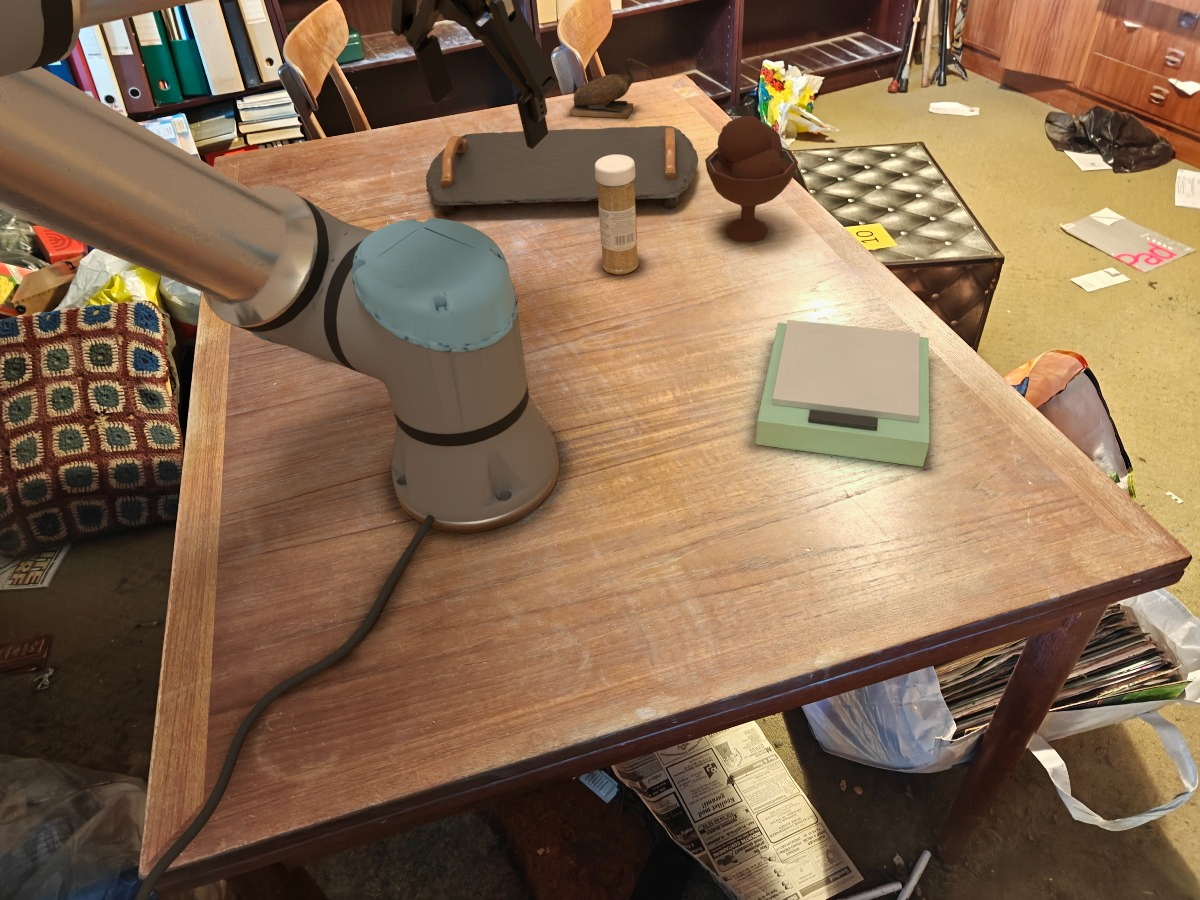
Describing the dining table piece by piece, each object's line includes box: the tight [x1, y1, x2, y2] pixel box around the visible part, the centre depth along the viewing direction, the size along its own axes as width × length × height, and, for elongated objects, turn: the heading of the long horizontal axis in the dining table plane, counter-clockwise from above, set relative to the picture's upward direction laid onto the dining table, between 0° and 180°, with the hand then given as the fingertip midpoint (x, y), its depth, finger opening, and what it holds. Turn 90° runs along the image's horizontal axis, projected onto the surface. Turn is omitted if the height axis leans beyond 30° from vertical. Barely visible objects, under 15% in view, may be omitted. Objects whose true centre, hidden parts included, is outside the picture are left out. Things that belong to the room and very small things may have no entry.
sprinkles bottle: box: [595, 155, 639, 275], centre depth 101 cm, size 5×5×13 cm
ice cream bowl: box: [704, 115, 799, 243], centre depth 104 cm, size 11×11×15 cm
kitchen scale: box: [754, 319, 931, 468], centre depth 83 cm, size 16×15×4 cm
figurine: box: [569, 57, 656, 119], centre depth 138 cm, size 14×4×9 cm, turn 74°
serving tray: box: [425, 125, 699, 217], centre depth 121 cm, size 39×23×6 cm, turn 87°
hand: (489, 117), depth 92 cm, fingers open, 13 cm apart
